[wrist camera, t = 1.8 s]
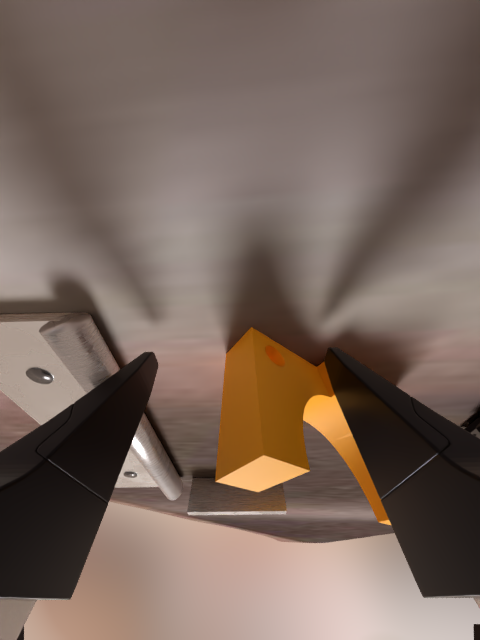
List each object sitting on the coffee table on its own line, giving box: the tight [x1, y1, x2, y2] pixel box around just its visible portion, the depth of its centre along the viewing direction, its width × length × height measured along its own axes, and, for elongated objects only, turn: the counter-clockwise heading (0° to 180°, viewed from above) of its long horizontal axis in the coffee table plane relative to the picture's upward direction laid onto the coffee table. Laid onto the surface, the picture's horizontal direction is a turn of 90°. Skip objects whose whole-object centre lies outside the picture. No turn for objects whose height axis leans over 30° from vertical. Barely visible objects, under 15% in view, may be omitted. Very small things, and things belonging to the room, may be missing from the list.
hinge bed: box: [0, 312, 287, 515], centre depth 15 cm, size 20×25×3 cm
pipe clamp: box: [215, 327, 391, 525], centre depth 10 cm, size 12×4×6 cm, turn 54°
